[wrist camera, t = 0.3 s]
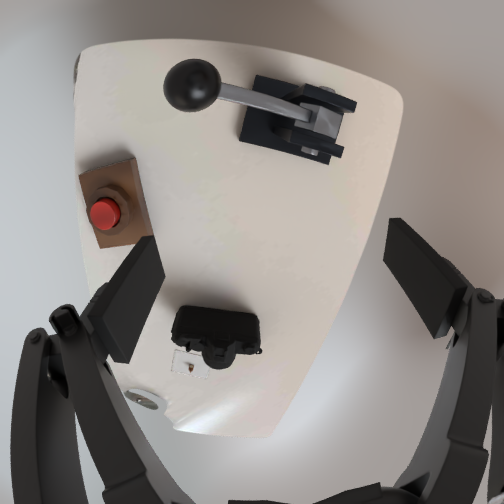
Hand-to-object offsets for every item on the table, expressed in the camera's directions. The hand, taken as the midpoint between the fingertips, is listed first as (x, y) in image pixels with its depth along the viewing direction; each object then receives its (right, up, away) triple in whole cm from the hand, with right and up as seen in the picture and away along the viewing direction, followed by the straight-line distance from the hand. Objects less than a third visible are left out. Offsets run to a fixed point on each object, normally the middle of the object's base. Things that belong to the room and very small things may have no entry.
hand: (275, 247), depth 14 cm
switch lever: (-1, +11, +4) cm, 12 cm away
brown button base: (-21, +7, +22) cm, 31 cm away
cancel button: (-21, +5, +19) cm, 28 cm away
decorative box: (-14, -24, +39) cm, 48 cm away
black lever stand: (+4, +17, +17) cm, 24 cm away
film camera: (-7, -14, +33) cm, 37 cm away
